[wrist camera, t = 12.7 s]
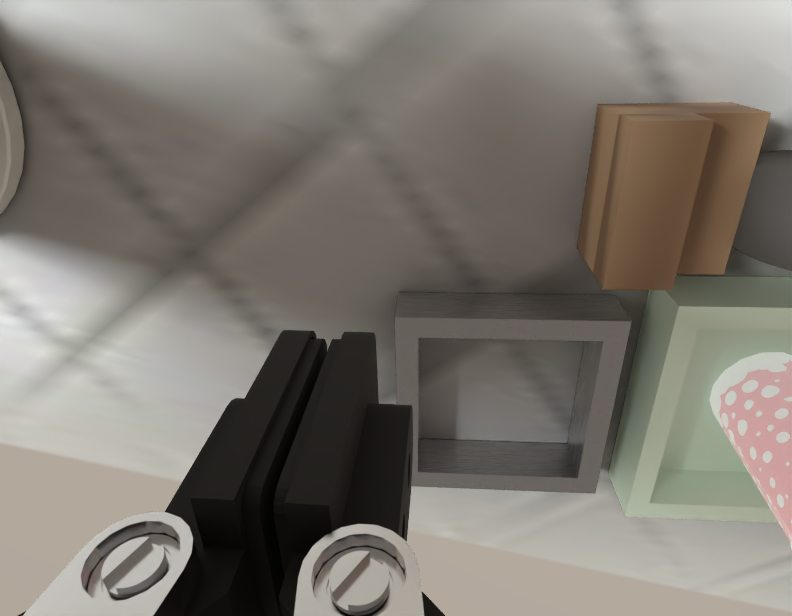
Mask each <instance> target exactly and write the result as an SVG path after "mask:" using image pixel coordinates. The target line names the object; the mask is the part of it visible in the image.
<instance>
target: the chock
mask: <svg viewBox="0 0 792 616" xmlns="http://www.w3.org/2000/svg"><path fill="white" fill-rule="evenodd" d="M770 114H771V113H770V112H766V111H762V110H758V109H754V108H750V107H746V106H742V105H739V104H735V103H651V104H598V107H597V114H596V121H595V127H594V134H593V141H592V148H591V155H590V161H589V168H588V175H587V182H586V189H585V195H584V202H583V209H582V216H581V223H580V229H579V236H578V243H577V249H578V250H579V252H580V253H581V255H582V257H583V258H584V260H585V261H586V263H587V265H588V266H589V268H590V269H591V271H592V273H593V274H594V276H595V277H596V279H597V281H598V282H599V284H600V285H601V287H602V289H606V290H673V286H674V282H675V278H676V274H719V275H724V272H725V268H726V265H727V261H728V258H729V254H730V251H731V248H732V244H733V241H734V237H735V234H736V231H737V227H738V224H739V220H740V217H741V213H742V210H743V207H744V203H745V200H746V196H747V193H748V189H749V186H750V183H751V179H752V176H753V172H754V169H755V165H756V162H757V159H758V155H759V152H760V148H761V145H762V141H763V138H764V135H765V131H766V128H767V124H768V121H769V117H770Z"/></svg>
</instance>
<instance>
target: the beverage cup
mask: <svg viewBox="0 0 792 616" xmlns="http://www.w3.org/2000/svg"><path fill="white" fill-rule="evenodd" d="M710 404H711V407H712V410H713V414H714V415H715V417H716V419H717V420H718V422H719V424H720V425H721V427H722V429H723V430H724V432H725V434H726V435H727V437H728V439H729V440H730V442H731V444H732V445H733V447H734V449H735V450H736V452H737V454H738V455H739V457H740V459H741V460H742V462H743V464H744V466H745V467H746V469H747V471H748V472H749V474H750V476H751V477H752V479H753V481H754V482H755V484H756V486H757V487H758V489H759V491H760V492H761V494H762V496H763V497H764V499H765V501H766V502H767V504H768V506H769V507H770V509H771V511H772V512H773V514H774V516H775V517H776V519H777V521H778V522H779V524H780V526H781V528H782V529H783V531H784V533H785V534H786V536H787V538H788V539H789V541H790V543H791V544H790V545H791V549H792V355H789V354H786V353H784V352H767V353H759V354H756V355H753V356H750V357H747V358H744V359H741V360H740V361H738V362H737V363H735V364H734V365H732V366H731V367H729V368H728V369H726V370H725V371H724V372H723V373H722V374H721V376H720V377H719V378H718V379H717V381H716V382H715V383H714V385H713V388H712V392H711V396H710Z"/></svg>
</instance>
